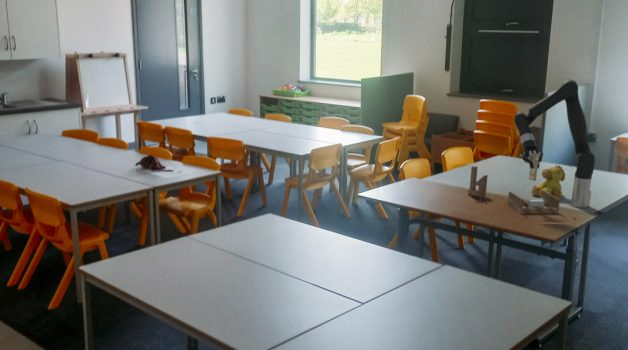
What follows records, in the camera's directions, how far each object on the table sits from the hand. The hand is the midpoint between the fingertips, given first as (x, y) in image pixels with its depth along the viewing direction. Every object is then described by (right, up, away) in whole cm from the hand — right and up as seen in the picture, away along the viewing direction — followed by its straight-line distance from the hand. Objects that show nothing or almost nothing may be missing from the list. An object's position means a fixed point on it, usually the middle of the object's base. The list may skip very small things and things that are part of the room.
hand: (535, 168), depth 372 cm
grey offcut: (0, -21, -1) cm, 21 cm away
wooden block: (-25, -17, +33) cm, 45 cm away
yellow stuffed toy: (+22, -17, +40) cm, 48 cm away
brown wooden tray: (-1, -24, +4) cm, 25 cm away
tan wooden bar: (0, -7, +4) cm, 8 cm away
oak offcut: (0, -24, -1) cm, 24 cm away
